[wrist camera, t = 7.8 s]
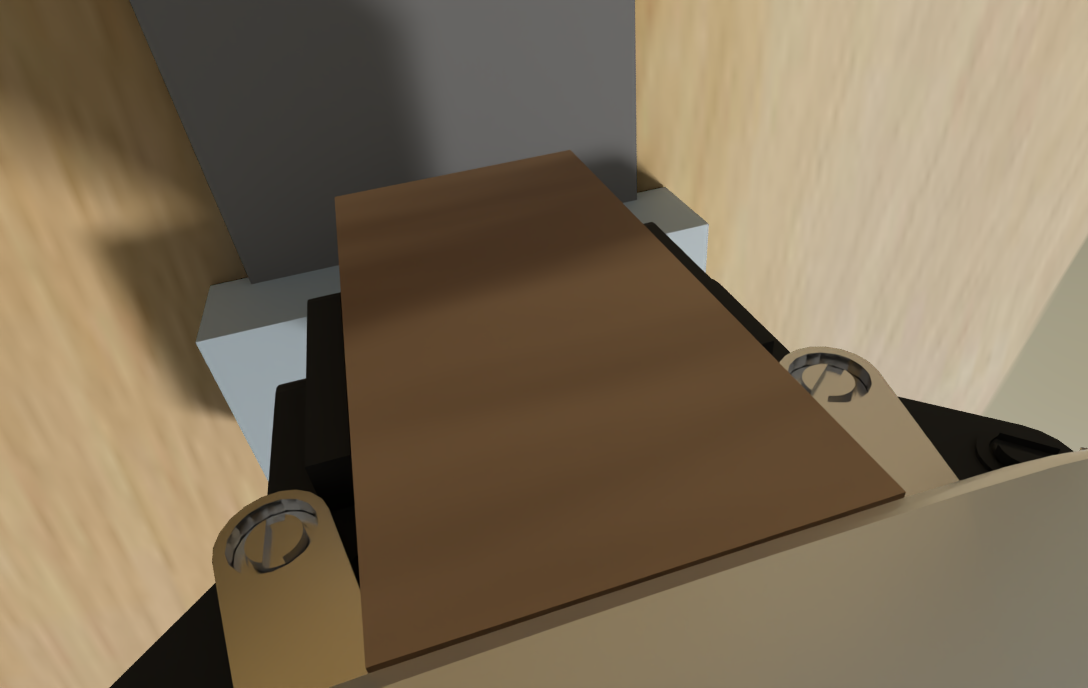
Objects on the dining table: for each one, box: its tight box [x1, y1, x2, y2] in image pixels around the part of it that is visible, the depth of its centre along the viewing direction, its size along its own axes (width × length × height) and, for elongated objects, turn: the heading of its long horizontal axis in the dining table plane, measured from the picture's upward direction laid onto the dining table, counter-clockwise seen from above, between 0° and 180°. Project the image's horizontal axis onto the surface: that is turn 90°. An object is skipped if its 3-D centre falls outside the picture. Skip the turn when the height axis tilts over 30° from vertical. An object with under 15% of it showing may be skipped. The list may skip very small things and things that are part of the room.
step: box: [196, 187, 709, 482], centre depth 17 cm, size 5×12×2 cm, turn 95°
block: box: [335, 150, 906, 674], centre depth 10 cm, size 4×4×9 cm
